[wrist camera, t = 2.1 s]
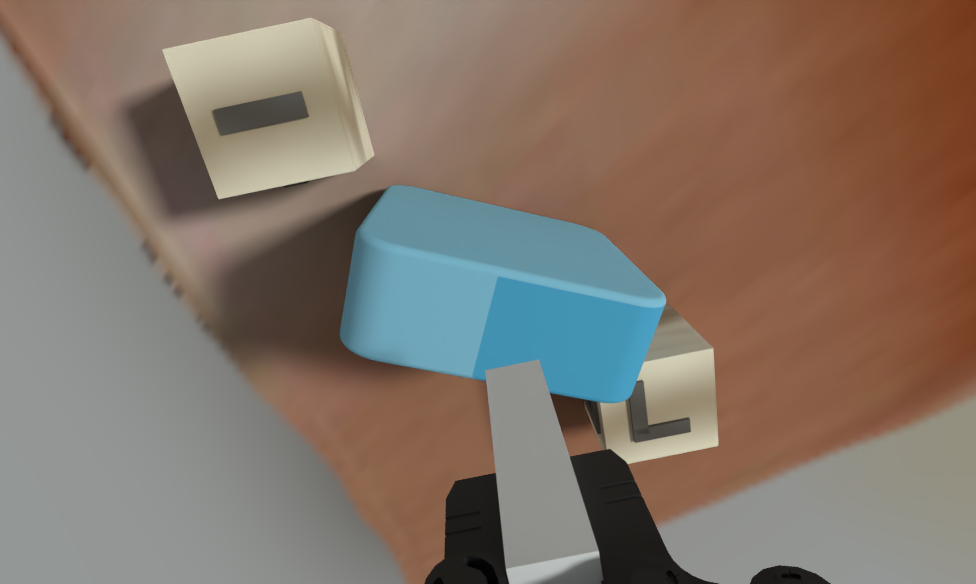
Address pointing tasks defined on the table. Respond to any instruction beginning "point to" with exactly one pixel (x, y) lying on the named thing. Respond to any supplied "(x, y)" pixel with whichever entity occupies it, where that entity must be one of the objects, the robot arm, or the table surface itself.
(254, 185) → the maple block one
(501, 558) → the robot arm
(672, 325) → the maple block seven
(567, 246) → the data package
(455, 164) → the table surface
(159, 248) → the table surface
